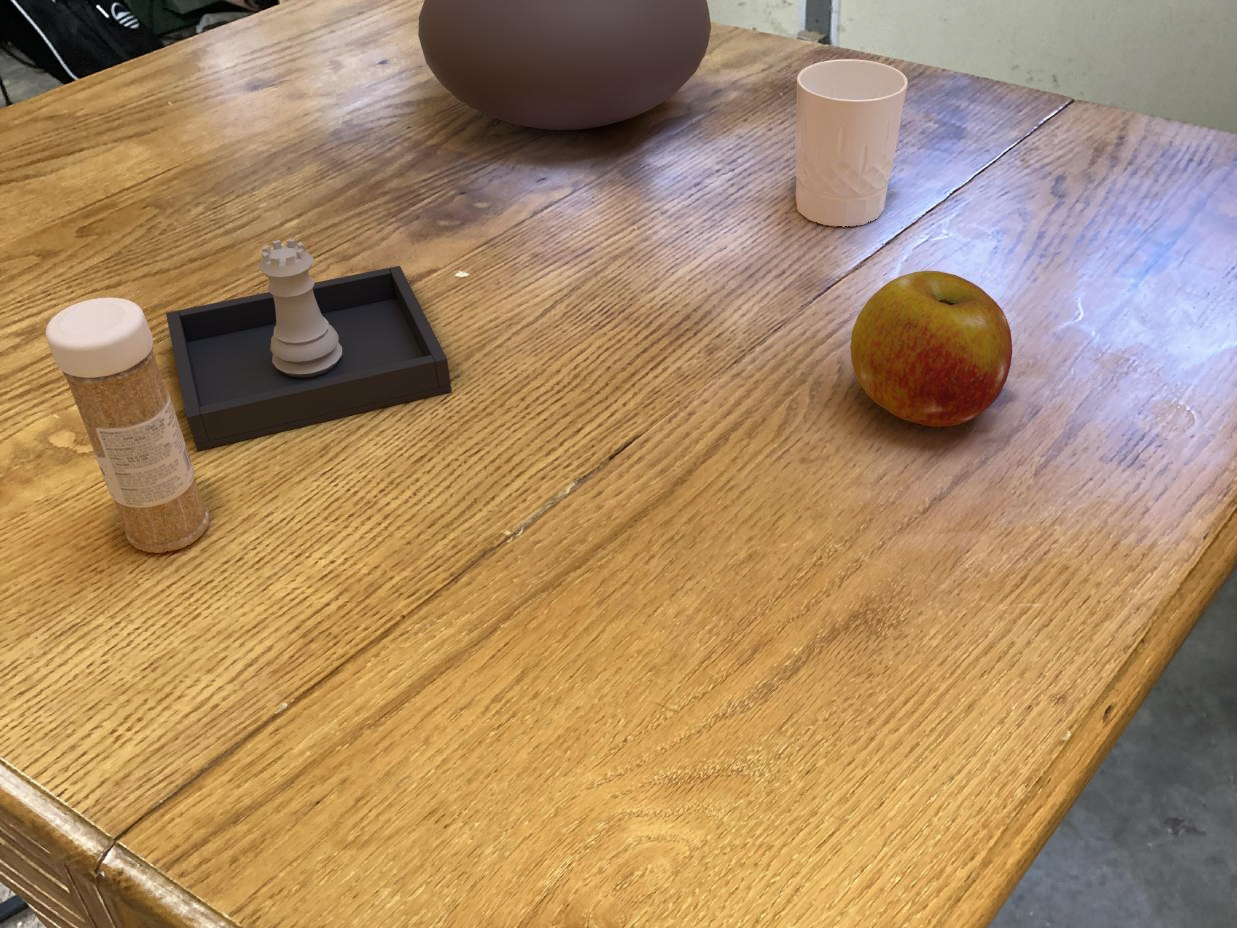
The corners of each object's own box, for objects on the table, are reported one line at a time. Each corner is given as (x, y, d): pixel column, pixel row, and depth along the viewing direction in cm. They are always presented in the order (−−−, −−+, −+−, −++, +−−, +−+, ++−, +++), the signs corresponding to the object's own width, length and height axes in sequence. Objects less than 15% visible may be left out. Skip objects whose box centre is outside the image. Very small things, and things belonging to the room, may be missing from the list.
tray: (197, 451, 72) (186, 417, 70) (175, 345, 81) (165, 312, 79) (452, 392, 76) (447, 358, 74) (405, 297, 85) (399, 265, 83)
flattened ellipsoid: (518, 47, 121) (504, -118, 111) (751, 84, 113) (758, -90, 103) (374, 141, 105) (343, -42, 95) (634, 194, 96) (630, -1, 86)
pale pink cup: (780, 226, 92) (789, 96, 85) (795, 181, 97) (805, 55, 91) (886, 236, 90) (903, 104, 84) (895, 190, 96) (911, 63, 89)
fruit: (1033, 419, 73) (1061, 303, 67) (918, 471, 69) (938, 352, 64) (924, 346, 79) (943, 234, 74) (814, 390, 76) (825, 276, 70)
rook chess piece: (269, 350, 79) (240, 239, 74) (337, 336, 80) (313, 226, 75) (278, 387, 76) (249, 273, 71) (349, 371, 77) (326, 259, 72)
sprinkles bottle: (133, 508, 68) (52, 298, 59) (216, 498, 69) (148, 289, 60) (121, 563, 65) (33, 349, 56) (209, 551, 65) (136, 338, 56)
